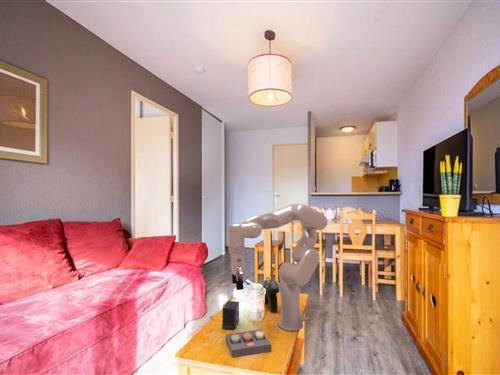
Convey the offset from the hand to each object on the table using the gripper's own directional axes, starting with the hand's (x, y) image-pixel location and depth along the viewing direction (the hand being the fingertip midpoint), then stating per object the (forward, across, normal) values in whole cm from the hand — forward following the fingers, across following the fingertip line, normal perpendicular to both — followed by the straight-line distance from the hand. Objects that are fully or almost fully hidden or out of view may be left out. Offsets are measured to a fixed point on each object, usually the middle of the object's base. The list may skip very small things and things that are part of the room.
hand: (237, 286), depth 131 cm
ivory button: (+21, -8, -8) cm, 24 cm away
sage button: (+21, -9, +3) cm, 23 cm away
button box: (+24, -8, -2) cm, 25 cm away
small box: (+24, +14, +1) cm, 28 cm away
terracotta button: (+21, -8, -2) cm, 23 cm away
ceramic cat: (+25, +30, -25) cm, 46 cm away
